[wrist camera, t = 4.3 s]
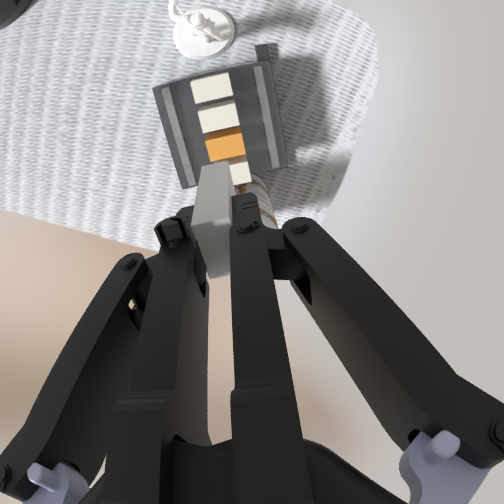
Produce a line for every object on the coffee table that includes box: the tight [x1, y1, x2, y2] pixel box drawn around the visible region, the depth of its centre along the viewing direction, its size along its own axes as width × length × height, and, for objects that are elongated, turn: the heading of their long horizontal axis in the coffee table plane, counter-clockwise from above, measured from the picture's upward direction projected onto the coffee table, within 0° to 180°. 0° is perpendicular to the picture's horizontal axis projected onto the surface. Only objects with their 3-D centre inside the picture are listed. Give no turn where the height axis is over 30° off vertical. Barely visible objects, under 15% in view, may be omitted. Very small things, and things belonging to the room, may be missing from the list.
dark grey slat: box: [255, 44, 288, 169], centre depth 34 cm, size 16×1×1 cm, turn 11°
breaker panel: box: [152, 60, 288, 190], centre depth 32 cm, size 12×12×7 cm
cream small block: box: [213, 154, 252, 185], centre depth 31 cm, size 2×4×3 cm, turn 101°
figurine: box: [168, 0, 235, 60], centre depth 23 cm, size 7×7×12 cm
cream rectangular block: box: [190, 72, 233, 104], centre depth 26 cm, size 2×4×3 cm, turn 101°
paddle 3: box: [205, 126, 246, 162], centre depth 30 cm, size 2×4×3 cm, turn 101°
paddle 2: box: [198, 99, 240, 133], centre depth 28 cm, size 2×4×3 cm, turn 100°
